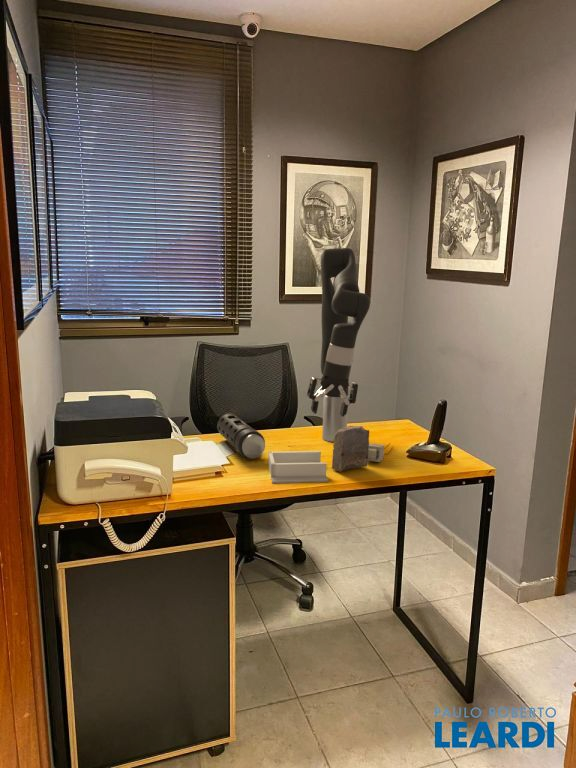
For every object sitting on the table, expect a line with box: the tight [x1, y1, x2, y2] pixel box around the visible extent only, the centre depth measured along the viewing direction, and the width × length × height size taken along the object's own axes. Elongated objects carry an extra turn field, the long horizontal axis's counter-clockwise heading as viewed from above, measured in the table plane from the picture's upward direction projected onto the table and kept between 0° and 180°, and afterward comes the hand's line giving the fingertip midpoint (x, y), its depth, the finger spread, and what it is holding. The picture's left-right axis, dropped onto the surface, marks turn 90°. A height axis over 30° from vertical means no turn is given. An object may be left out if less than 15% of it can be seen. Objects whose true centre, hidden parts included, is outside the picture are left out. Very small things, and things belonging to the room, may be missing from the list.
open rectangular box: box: [267, 450, 329, 484], centre depth 181 cm, size 16×17×4 cm
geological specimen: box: [331, 425, 370, 473], centre depth 184 cm, size 11×6×15 cm, turn 119°
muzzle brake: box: [216, 413, 266, 459], centre depth 202 cm, size 10×28×10 cm, turn 23°
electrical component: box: [368, 442, 394, 463], centre depth 201 cm, size 24×6×5 cm, turn 158°
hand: (328, 414), depth 167 cm, fingers open, 8 cm apart
